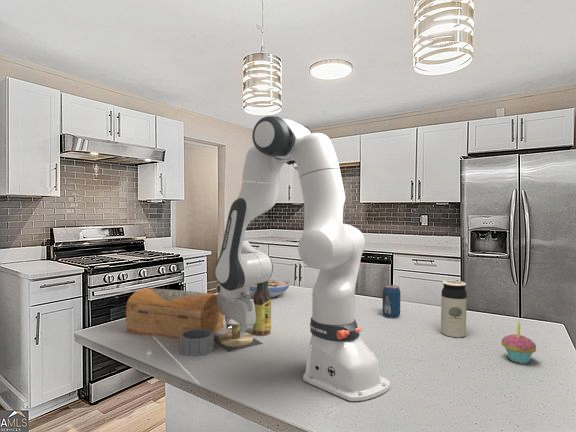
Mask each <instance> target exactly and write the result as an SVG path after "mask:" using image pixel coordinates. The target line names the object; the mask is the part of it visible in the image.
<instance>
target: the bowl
mask: <svg viewBox="0 0 576 432" xmlns="http://www.w3.org/2000/svg"><path fill="white" fill-rule="evenodd" d="M214 337H215V333H214V332H213V331H212V330H209V329H191V330H187V331H184V332H182V333H181V334H180V336H179V338H178V341H179V346H178V347H179V349H178V350H179V353H180V354H181V355H183V356H187V357H199V356H204V355H208V354H210V353H212V352H213V351H214V350H215V342H214Z"/></svg>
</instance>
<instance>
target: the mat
mask: <svg viewBox="0 0 576 432" xmlns="http://www.w3.org/2000/svg"><path fill="white" fill-rule="evenodd" d="M219 336H220V335H218V336H214V343H215V344H216V345H218V346H220V347H221V348H222V349H224V350H225V351H226V352H228V353H231V352H234V351H239V350H243V349H246V348H251V347H255V346H259V345H263V344H264V343H263V342H262V341H260V340H258V339H256V338H255V337H253V342H252V343H250V344H248V345H246V346H241V347H227V346H223V345H221V344H219V342H218V338H219Z"/></svg>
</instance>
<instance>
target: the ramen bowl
mask: <svg viewBox="0 0 576 432" xmlns="http://www.w3.org/2000/svg"><path fill="white" fill-rule="evenodd" d="M291 284H292V280H290V279H288V278H284V277H276V276H275V277H273V276H271V277H270V279H269V280H268V291H269V294H270V297H271V299H273V298H276V297H277V296H279V295H283V294H284V293H285V292H287V290H288V289H289V288H290V285H291ZM256 290H257V284H255V285H250V293H252V294H253V295H254V293H255V292H256Z"/></svg>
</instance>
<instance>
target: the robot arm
mask: <svg viewBox="0 0 576 432" xmlns="http://www.w3.org/2000/svg"><path fill="white" fill-rule="evenodd" d="M251 134H252V135H251V136H252V138H251V139H252V143H253V146H251V147H250V148H249V149H248V150H247V152H246V155H245V160H244V164H243V168H242V169H243V170H242V177H241V178H242V179H241V187H240V191H239V194H238V196H237V198H236V199H234V201H233V202H232V203H231V206H230V209H229V212H228V215H227V221H226V225H225V230H224V233H223V234H224V235H223V240H222V245H221V248H220V249H221V250H220V253H219V257H218V258H217V261H216V264H215V267H214V268H215V269H214V276H215V277H214V278H215V280H216V282H217V283H218V284H217V285H216V286H215V291H216V294H217V308H218V311H219V312H220V313H222V314H223V315H224V317H223V319H224V321H225V326H226V327H225V328H226V329H227V330H228V331H232V325H233V324H234V323H233V321H234V322H235V323H237V324H239V326H240V330H239V331H238V336H240V337H245V333H246V331H247V328H248V327H253V325H254V324H255V322H256V315H255V305H254V302H253V299H252V297H251V294H250V293H251V291H250V285H255V284H259V283H263V282H265V281H268V280H269V279H270V277H272V275H273V272H274V264H273V260H272V258H271V257H270V256H269V254H267V253H266V252H262V251H260V250H258V249H256V248H255V247H253V246H252V245H251V244H250V241H249V240H247V239H244V238H245V235H246V230H247V228H248V225H249V224H250V223H251V222H252V221H253V220H254V219H255V218H257V217H260V216H261V215H263V214H265V213H267V212H269V211H270V210H271V209H272V208H273V207H274V206H275V204H276V203H277V200H278V197H279V189H280V173H281V169H282V167H283V166H284V165H285V164H287V165H293V164H296V167H297V171H298V177H299V182H300V183H299V184H300V188H301V194H302V201H303V208H304V217H303V218H304V219H303V220H304V221H303V230H302V231H303V232H302V234H301V236H300V239H299V241H298V244H297V250H298V254H299V255H298V256H299V258H300V260H301V261H302V263H303V264H304V265H306V266H307V267H308V268H311V269H313V270H319V272H318V276H317V279H316V281H315V283H314V284H313V288H312V299H311V300H312V303H311V304H312V306H311V307H312V308H311V310H312V311H311V312H312V313H311V315H312V316H311V317H310V322H309V328H310V329H309V330H310V333H311V337H310V341H309V345H308V349H307V356H306V357H307V358H306V366H305V369H304V370H305V371H304V372H305V373H304V374H303V378H302V380H303V381H304V382H306V383H308V384H310V385H312V386H315V387H316V388H319V389H321V390H324V391H326V392H328V393H330V394H333V395H335V396H337V397H340V398H342V399H344V400H346V401H349V402H360V401H366V400H369V399H370V400H371V399H373V398H376V397H379V396H381V395H383V394H385V393H386V392H387V391H388V390H389V389H390V388H391V382H390V380H388V379H387V378H385V377H383V376H382V375H381V368H380V362H379V360H378V358H377V357H376V356H375V354H374V352H373V351H371V349H370V348H369V347H368V346H367V344H366V343H365V342H364V341H363V339H362V338H361V337H360V335H361V334H360V332H363V326H359V327H358V324H357V323H358V322H357V320H356V318H355V308H356V306H355V302H356V289H357V288H356V285H357V281H358V276H359V271H360V266H361V259H362V256H363V253H364V250H365V248H366V240H365V239H366V238H365V235H364V233H363V232H362V231H361V230H360V229H358V228H357V227H355V226H353V225H350V224H347V223H344V206H345V202H346V193H345V188H344V183H343V178H342V173H341V168H340V164H339V160H338V156H337V154H336V150H335V148H334V146H333V144H332V141H331V139H330V137H328V136H327V135H326V134H325V133H321V132H314V131H313V130H312V129H310V127H308V126H307V125H302V124H301V123H298V122H296V121H295V120H293V119H288V118H283V117H280V116H277V115H275V116H274V115H270V116H268V115H267V116H264V117H262V118H260V119H259V120H258V121H257V122H256V123H255V125H254V127H253V130H252V133H251ZM361 329H362V330H361Z"/></svg>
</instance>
